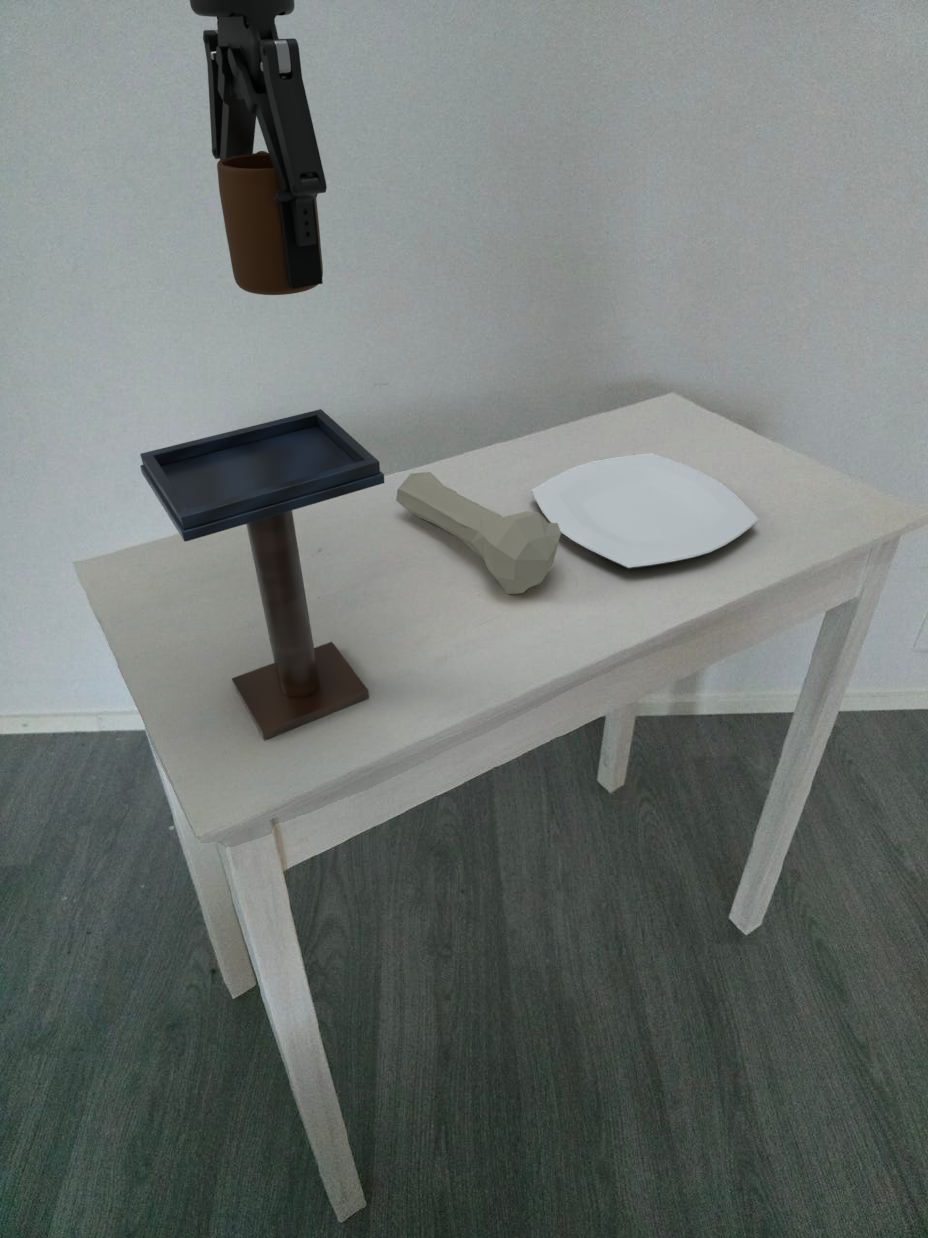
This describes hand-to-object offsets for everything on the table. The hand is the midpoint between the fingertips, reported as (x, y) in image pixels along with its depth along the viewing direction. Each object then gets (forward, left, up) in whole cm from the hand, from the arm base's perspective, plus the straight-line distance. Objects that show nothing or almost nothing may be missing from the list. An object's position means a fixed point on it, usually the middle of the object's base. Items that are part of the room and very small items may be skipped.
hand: (277, 267), depth 73 cm
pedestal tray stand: (+11, -17, -31) cm, 38 cm away
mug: (0, 0, -1) cm, 1 cm away
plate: (+28, +26, -32) cm, 49 cm away
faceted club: (+13, +11, -32) cm, 36 cm away
